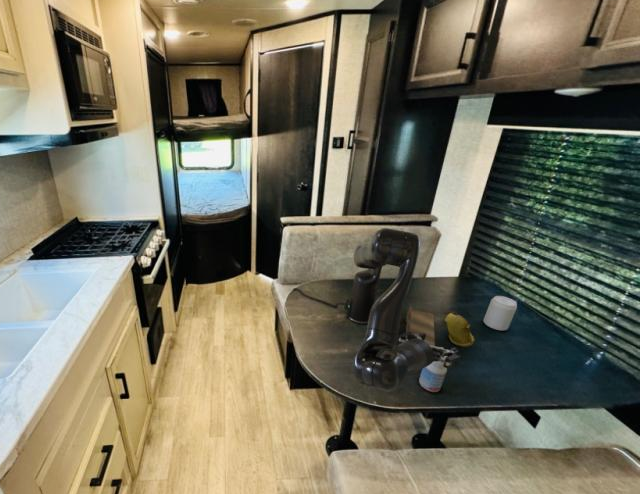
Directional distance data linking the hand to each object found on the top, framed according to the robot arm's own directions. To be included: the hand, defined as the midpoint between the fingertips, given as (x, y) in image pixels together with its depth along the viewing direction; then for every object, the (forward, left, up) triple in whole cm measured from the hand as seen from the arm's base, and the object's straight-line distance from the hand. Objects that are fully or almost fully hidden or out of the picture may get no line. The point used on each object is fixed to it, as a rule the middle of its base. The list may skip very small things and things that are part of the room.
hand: (439, 343), depth 92 cm
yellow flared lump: (+11, +29, -19) cm, 36 cm away
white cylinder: (+26, +49, -19) cm, 59 cm away
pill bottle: (+2, +2, -19) cm, 19 cm away
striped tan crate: (-2, +26, -18) cm, 32 cm away
